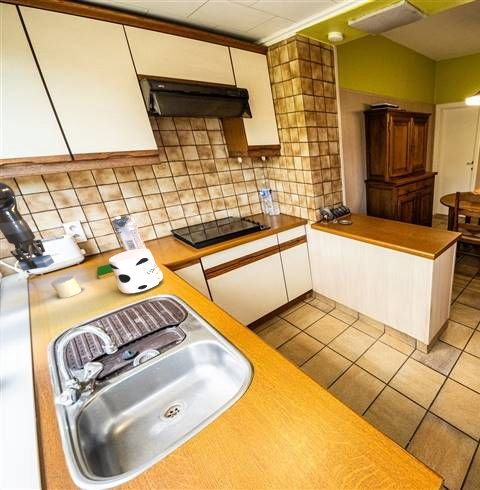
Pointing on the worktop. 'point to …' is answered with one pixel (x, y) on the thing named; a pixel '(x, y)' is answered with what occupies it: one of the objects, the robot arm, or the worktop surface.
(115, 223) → the juice carton
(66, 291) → the yogurt pot
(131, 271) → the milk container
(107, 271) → the dish sponge
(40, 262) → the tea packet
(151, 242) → the worktop surface
